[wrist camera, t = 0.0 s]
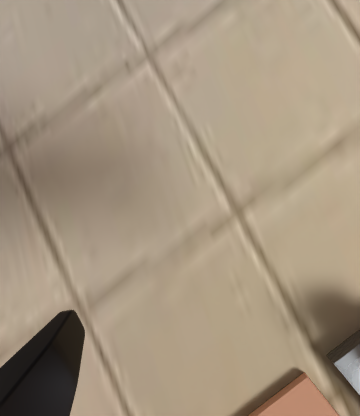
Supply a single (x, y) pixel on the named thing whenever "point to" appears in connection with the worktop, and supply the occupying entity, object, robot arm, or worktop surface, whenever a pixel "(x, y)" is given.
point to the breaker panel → (348, 360)
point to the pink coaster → (297, 401)
